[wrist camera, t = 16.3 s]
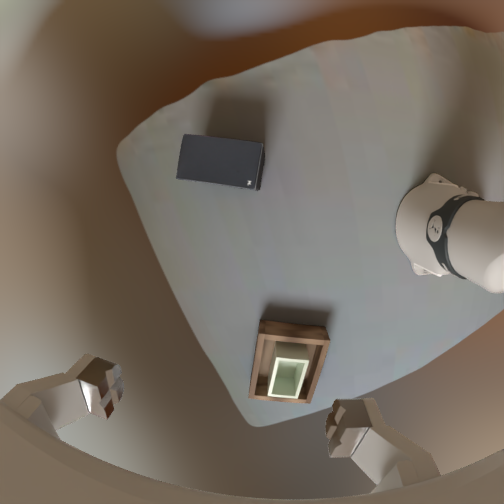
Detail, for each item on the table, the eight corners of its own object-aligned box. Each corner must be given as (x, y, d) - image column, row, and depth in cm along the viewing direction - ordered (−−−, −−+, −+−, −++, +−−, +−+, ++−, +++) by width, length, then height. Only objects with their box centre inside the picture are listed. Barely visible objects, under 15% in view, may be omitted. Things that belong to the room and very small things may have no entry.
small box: (266, 151, 42) (265, 140, 32) (259, 191, 44) (256, 192, 33) (202, 143, 42) (182, 131, 32) (195, 181, 44) (174, 181, 34)
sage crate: (305, 341, 48) (309, 360, 42) (295, 378, 50) (297, 398, 44) (275, 338, 48) (276, 357, 42) (268, 376, 50) (267, 396, 44)
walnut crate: (325, 326, 48) (330, 340, 43) (307, 387, 52) (310, 403, 47) (260, 319, 49) (258, 333, 44) (250, 382, 52) (248, 398, 47)
